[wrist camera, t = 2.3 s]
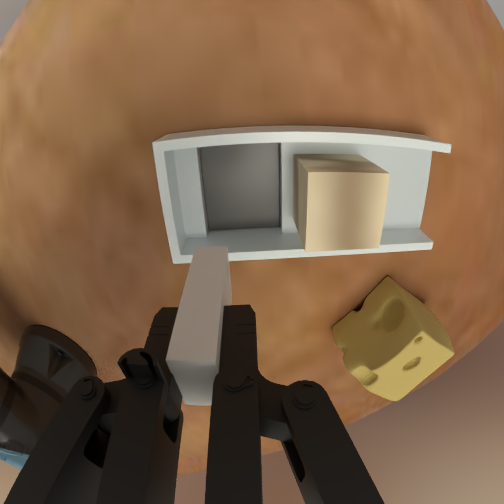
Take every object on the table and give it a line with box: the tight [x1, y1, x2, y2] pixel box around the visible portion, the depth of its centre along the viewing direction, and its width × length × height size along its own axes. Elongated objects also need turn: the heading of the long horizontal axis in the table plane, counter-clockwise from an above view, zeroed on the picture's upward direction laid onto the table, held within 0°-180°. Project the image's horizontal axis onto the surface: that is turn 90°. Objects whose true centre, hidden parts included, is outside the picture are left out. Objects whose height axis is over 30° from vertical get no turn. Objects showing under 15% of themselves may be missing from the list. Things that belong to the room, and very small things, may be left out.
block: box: [293, 154, 390, 252], centre depth 22 cm, size 6×6×6 cm
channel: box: [152, 126, 451, 264], centre depth 24 cm, size 25×11×4 cm, turn 93°
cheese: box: [333, 276, 454, 401], centre depth 31 cm, size 10×11×10 cm
